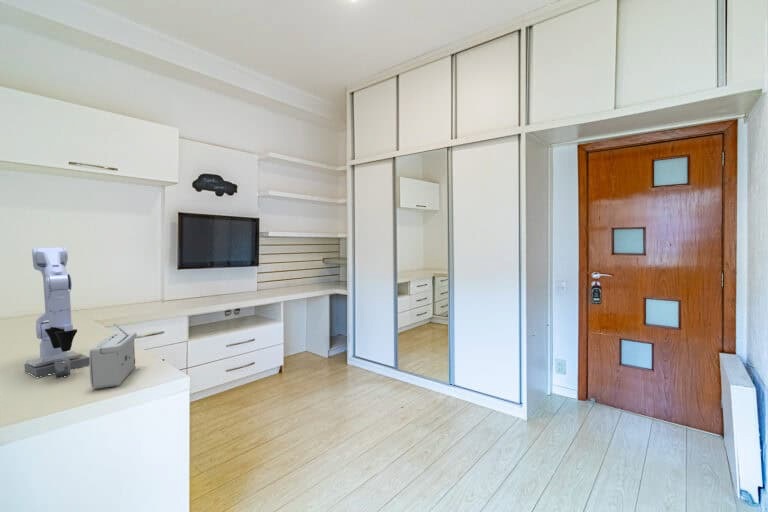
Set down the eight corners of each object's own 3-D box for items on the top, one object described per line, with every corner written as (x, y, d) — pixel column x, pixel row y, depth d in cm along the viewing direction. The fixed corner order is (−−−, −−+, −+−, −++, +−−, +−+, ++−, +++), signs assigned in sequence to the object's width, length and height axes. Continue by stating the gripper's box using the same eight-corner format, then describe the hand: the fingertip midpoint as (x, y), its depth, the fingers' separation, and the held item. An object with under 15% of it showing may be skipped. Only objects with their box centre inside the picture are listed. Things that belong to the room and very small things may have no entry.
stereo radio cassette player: (112, 370, 133) (109, 314, 132) (138, 366, 136) (136, 312, 135) (89, 391, 113) (86, 326, 113) (121, 387, 116) (118, 324, 116)
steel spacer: (53, 376, 127) (52, 362, 127) (68, 373, 130) (67, 359, 130) (57, 378, 125) (57, 364, 125) (72, 375, 128) (71, 360, 128)
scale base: (24, 372, 132) (24, 362, 132) (76, 360, 145) (76, 351, 144) (36, 378, 126) (36, 368, 125) (90, 365, 138) (89, 356, 138)
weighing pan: (26, 363, 130) (26, 360, 130) (72, 353, 141) (72, 350, 141) (34, 366, 126) (34, 364, 126) (81, 356, 137) (81, 354, 137)
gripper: (36, 310, 127) (38, 349, 128) (52, 313, 119) (54, 355, 120) (62, 306, 133) (64, 344, 134) (79, 310, 125) (81, 350, 126)
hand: (61, 349), depth 127 cm, fingers open, 7 cm apart
